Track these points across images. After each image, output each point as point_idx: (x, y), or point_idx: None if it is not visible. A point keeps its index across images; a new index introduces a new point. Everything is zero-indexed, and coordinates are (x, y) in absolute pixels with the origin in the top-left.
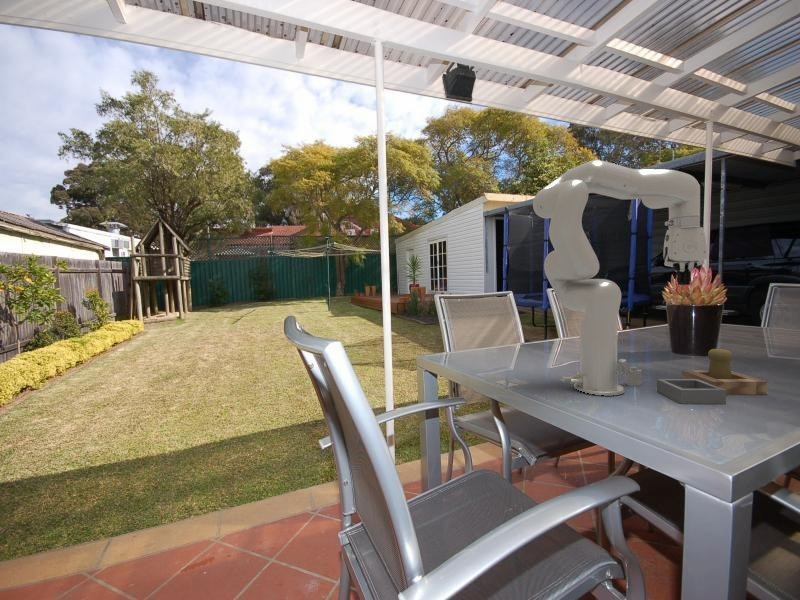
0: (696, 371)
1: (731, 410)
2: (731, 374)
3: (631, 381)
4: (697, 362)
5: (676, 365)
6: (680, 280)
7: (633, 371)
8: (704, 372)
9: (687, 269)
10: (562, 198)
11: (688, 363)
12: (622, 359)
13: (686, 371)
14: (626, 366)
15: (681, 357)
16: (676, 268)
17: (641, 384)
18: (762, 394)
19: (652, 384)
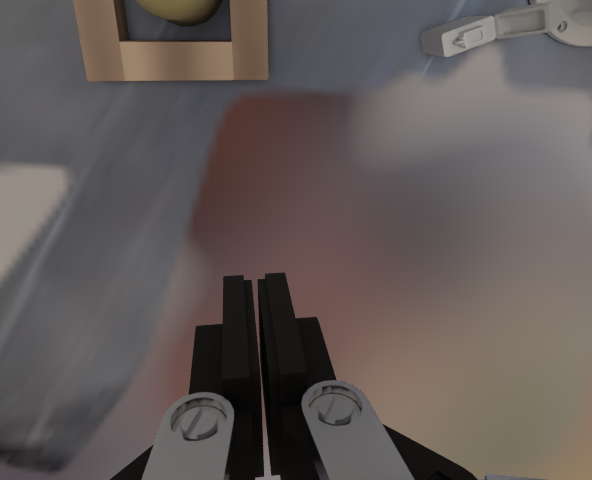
0: (227, 56)
1: None
2: (115, 10)
3: (471, 16)
4: (62, 354)
5: (156, 309)
6: (316, 322)
7: (481, 19)
8: (204, 42)
9: (240, 438)
10: None
11: (100, 338)
12: (551, 16)
13: (264, 57)
14: (525, 7)
15: (79, 419)
16: (410, 447)
17: (424, 31)
18: None
19: (383, 39)
